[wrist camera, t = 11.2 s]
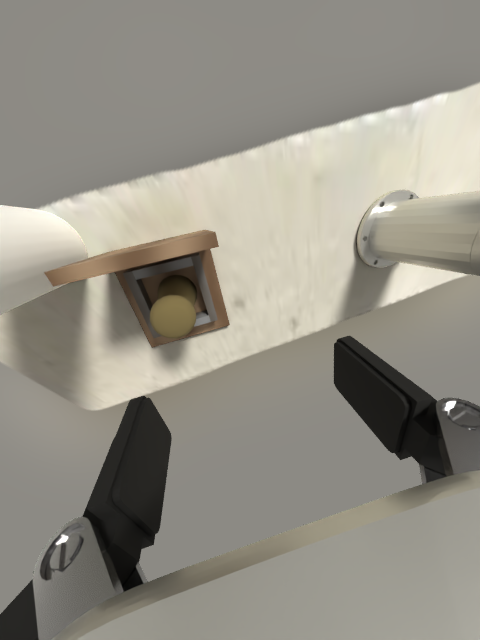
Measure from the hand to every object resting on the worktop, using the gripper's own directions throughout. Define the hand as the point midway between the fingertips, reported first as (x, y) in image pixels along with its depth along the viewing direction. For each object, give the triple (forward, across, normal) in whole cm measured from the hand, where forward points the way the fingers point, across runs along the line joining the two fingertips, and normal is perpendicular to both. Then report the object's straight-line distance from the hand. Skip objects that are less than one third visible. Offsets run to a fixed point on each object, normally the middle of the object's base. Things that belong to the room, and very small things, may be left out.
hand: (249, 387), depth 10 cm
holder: (+25, +7, +1) cm, 26 cm away
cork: (+25, +6, +1) cm, 25 cm away
